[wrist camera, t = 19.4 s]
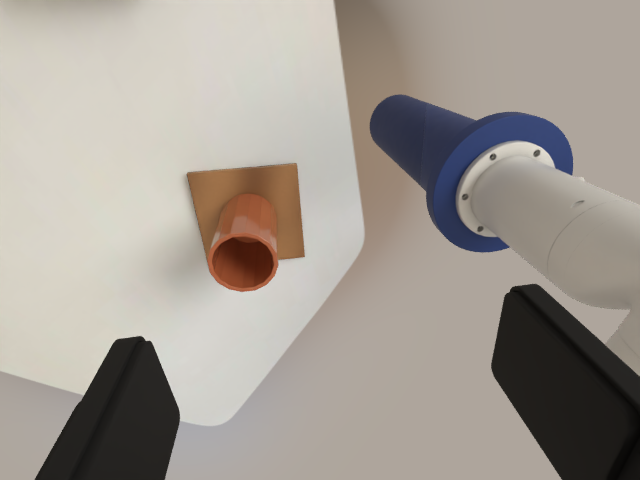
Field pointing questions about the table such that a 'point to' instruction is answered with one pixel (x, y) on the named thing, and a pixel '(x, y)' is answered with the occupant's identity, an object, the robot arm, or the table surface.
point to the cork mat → (263, 181)
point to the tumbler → (245, 244)
